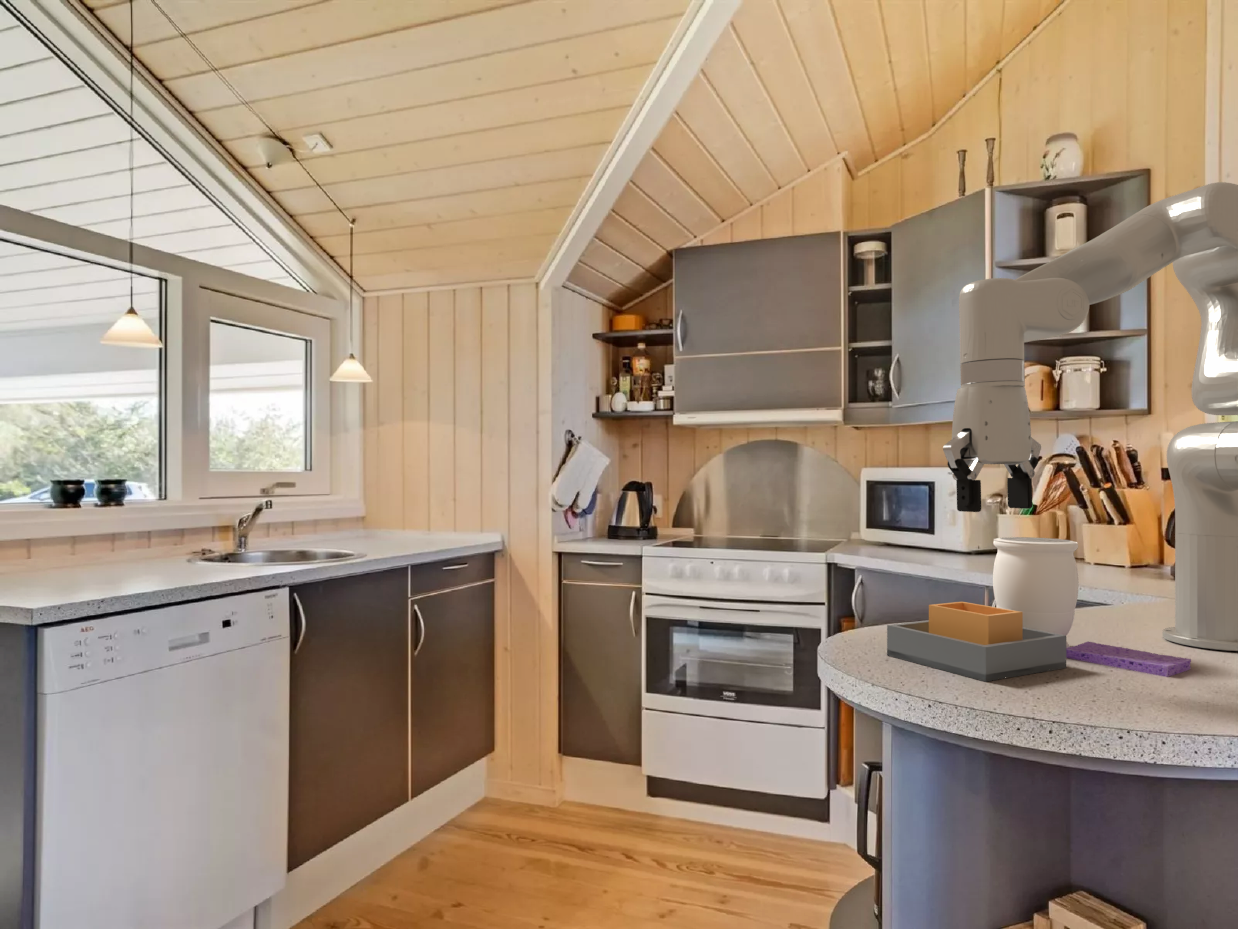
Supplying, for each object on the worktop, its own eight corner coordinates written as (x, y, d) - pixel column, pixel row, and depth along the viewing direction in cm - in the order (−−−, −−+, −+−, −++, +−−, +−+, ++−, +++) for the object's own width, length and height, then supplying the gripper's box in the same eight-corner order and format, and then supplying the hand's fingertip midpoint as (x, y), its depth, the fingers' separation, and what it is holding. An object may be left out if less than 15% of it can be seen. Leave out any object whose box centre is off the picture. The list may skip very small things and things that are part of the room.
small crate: (962, 645, 109) (962, 601, 109) (1022, 659, 101) (1022, 612, 101) (928, 650, 106) (928, 604, 106) (988, 665, 98) (988, 616, 98)
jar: (983, 647, 112) (983, 539, 112) (1003, 636, 120) (1004, 535, 120) (1069, 659, 105) (1069, 544, 105) (1085, 646, 113) (1085, 539, 113)
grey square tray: (964, 644, 114) (964, 616, 114) (1066, 667, 100) (1066, 635, 100) (887, 655, 107) (887, 625, 107) (985, 681, 93) (985, 647, 93)
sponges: (1167, 681, 96) (1167, 665, 96) (1060, 660, 107) (1060, 646, 107) (1192, 673, 100) (1192, 658, 100) (1087, 653, 111) (1087, 640, 111)
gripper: (1010, 382, 111) (1013, 506, 111) (921, 378, 103) (924, 511, 103) (1062, 376, 105) (1065, 508, 105) (970, 371, 97) (974, 514, 97)
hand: (995, 509), depth 104 cm, fingers open, 9 cm apart
